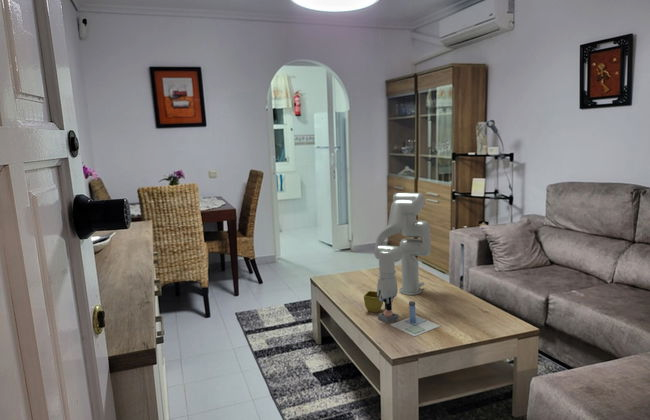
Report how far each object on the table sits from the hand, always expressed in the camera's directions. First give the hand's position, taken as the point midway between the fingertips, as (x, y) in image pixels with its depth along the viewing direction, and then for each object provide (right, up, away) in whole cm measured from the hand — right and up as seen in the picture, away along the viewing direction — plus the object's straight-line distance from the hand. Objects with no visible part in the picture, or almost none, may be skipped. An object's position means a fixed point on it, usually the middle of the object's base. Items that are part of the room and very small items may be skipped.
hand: (388, 309), depth 218 cm
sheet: (+11, -6, -9) cm, 16 cm away
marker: (+11, -5, -6) cm, 13 cm away
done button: (0, -3, 0) cm, 4 cm away
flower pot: (-6, -3, +12) cm, 14 cm away
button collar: (0, -5, 0) cm, 5 cm away
